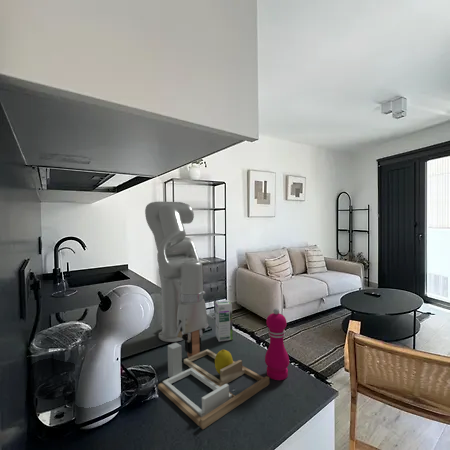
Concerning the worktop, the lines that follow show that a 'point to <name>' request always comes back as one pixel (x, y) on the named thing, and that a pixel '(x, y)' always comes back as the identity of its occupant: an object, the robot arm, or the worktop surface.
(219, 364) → the lemon
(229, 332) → the syrup box
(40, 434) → the worktop surface
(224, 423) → the worktop surface
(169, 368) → the frame
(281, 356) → the pepper mill
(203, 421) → the lane bed
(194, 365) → the frame
